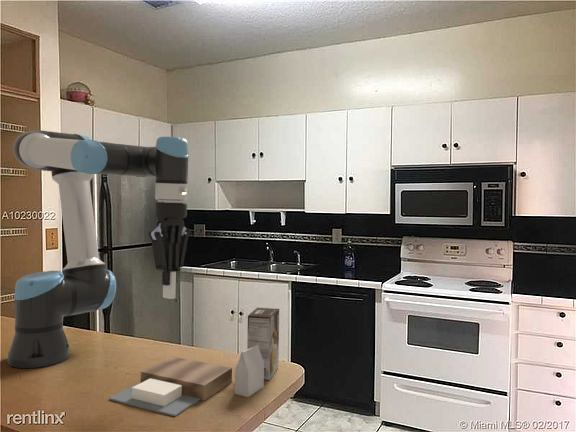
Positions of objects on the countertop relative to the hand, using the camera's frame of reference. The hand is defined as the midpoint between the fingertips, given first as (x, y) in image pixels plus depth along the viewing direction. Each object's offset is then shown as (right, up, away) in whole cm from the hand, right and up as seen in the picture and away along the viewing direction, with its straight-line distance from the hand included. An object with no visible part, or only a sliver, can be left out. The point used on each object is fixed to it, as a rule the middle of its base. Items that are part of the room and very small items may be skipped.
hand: (169, 297), depth 115 cm
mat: (-1, -21, -11) cm, 24 cm away
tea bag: (+20, -21, -4) cm, 30 cm away
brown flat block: (+5, -21, -1) cm, 21 cm away
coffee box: (+23, -21, +7) cm, 32 cm away
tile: (0, -21, -10) cm, 23 cm away
